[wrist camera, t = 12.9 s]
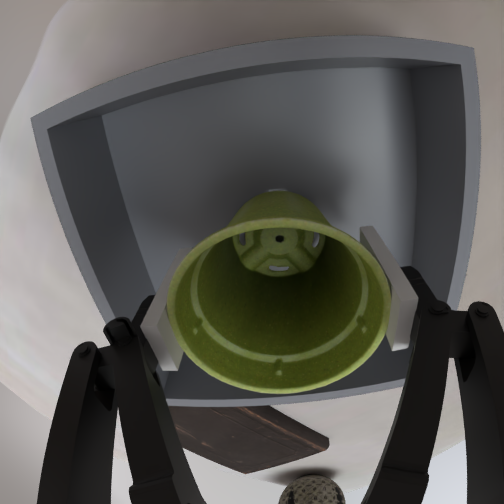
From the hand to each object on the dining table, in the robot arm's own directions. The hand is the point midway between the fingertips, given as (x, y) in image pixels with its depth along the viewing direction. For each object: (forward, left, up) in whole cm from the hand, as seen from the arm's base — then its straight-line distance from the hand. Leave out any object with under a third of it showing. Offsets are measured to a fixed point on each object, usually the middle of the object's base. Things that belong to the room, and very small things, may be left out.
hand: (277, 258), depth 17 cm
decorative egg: (+49, +1, -5) cm, 49 cm away
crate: (0, 0, -5) cm, 5 cm away
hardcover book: (+27, -9, -6) cm, 29 cm away
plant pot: (0, 0, -3) cm, 3 cm away
